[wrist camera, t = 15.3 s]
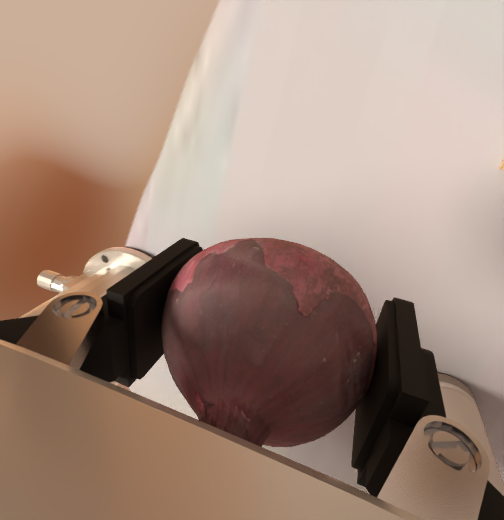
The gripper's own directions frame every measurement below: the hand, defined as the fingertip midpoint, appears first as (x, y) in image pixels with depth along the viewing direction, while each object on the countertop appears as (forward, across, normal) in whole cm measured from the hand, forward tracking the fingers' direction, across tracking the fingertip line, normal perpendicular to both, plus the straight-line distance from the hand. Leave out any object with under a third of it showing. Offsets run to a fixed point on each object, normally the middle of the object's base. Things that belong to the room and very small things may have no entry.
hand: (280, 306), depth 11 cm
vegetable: (+2, 0, 0) cm, 2 cm away
